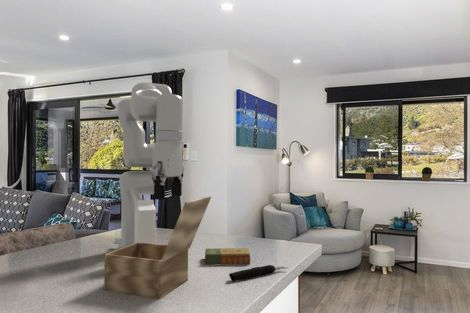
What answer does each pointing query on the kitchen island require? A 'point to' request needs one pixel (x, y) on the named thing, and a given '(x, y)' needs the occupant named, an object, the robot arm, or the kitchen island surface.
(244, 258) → the carton
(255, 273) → the black handled hook tool
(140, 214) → the milk
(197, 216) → the lid flap
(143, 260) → the wooden box
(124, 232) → the robot arm
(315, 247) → the kitchen island surface
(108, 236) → the kitchen island surface
